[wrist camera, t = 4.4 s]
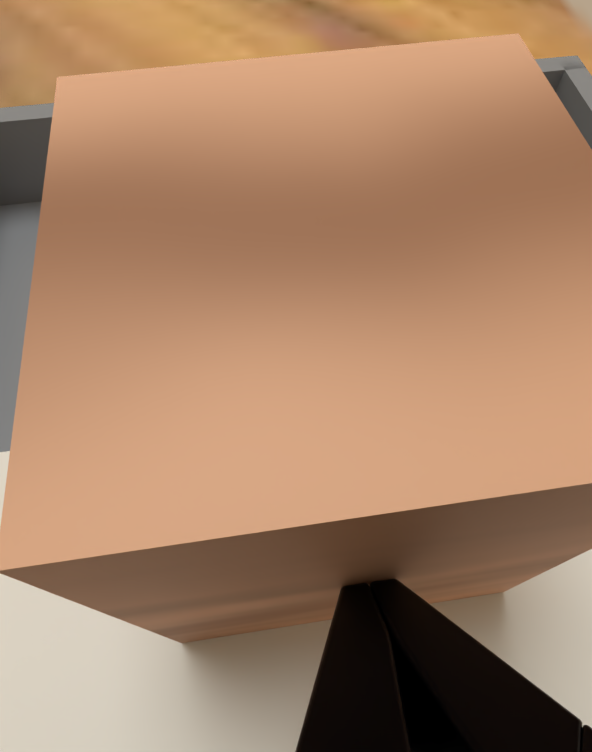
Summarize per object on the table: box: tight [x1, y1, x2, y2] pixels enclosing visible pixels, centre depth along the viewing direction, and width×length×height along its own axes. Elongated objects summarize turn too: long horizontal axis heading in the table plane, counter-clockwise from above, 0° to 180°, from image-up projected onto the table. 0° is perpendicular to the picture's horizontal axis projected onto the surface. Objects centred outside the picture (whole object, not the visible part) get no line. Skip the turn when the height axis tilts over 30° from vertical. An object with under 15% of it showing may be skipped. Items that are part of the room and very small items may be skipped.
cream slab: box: [0, 451, 592, 752], centre depth 12 cm, size 14×22×3 cm, turn 98°
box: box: [0, 56, 592, 452], centre depth 18 cm, size 13×24×4 cm, turn 98°
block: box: [0, 34, 592, 643], centre depth 10 cm, size 7×7×8 cm
